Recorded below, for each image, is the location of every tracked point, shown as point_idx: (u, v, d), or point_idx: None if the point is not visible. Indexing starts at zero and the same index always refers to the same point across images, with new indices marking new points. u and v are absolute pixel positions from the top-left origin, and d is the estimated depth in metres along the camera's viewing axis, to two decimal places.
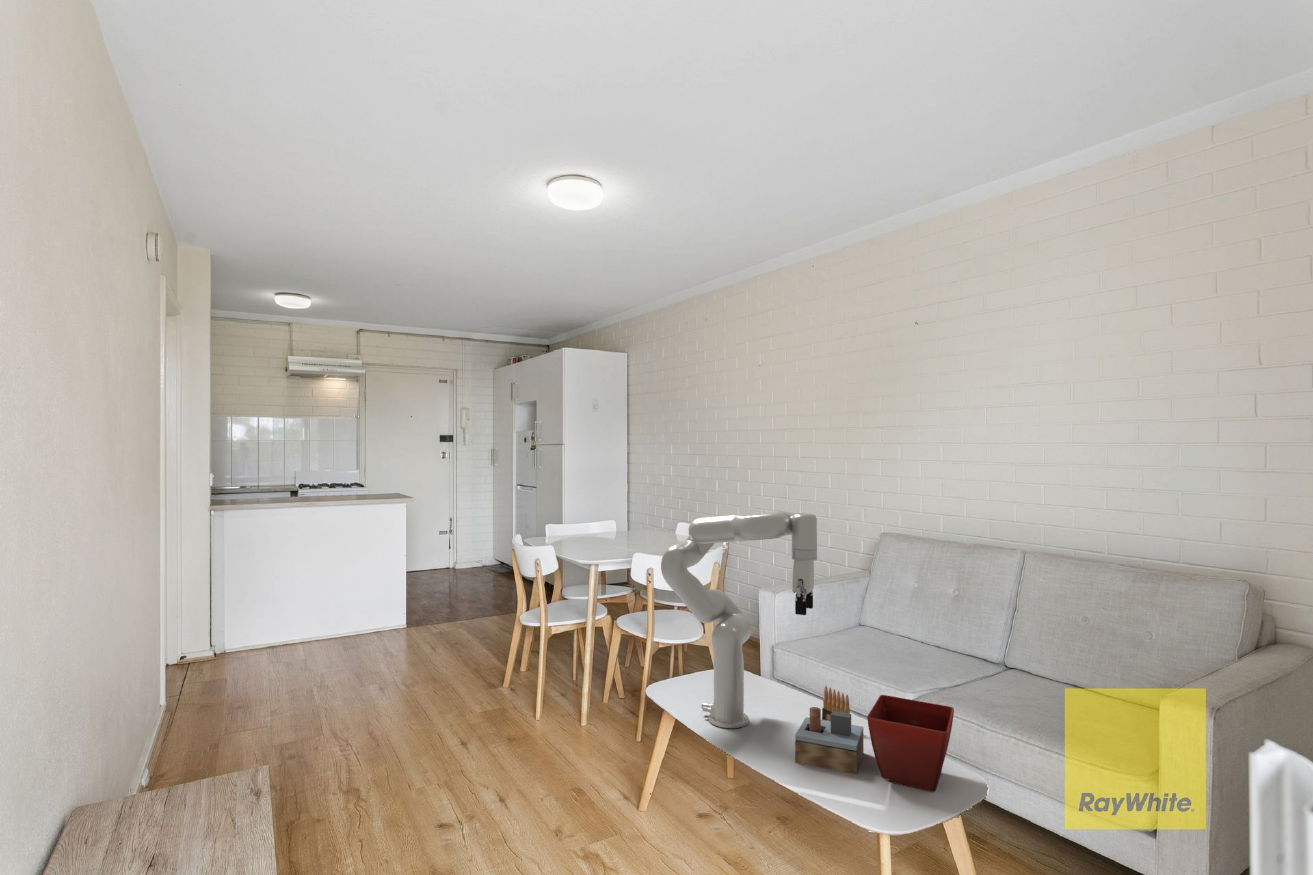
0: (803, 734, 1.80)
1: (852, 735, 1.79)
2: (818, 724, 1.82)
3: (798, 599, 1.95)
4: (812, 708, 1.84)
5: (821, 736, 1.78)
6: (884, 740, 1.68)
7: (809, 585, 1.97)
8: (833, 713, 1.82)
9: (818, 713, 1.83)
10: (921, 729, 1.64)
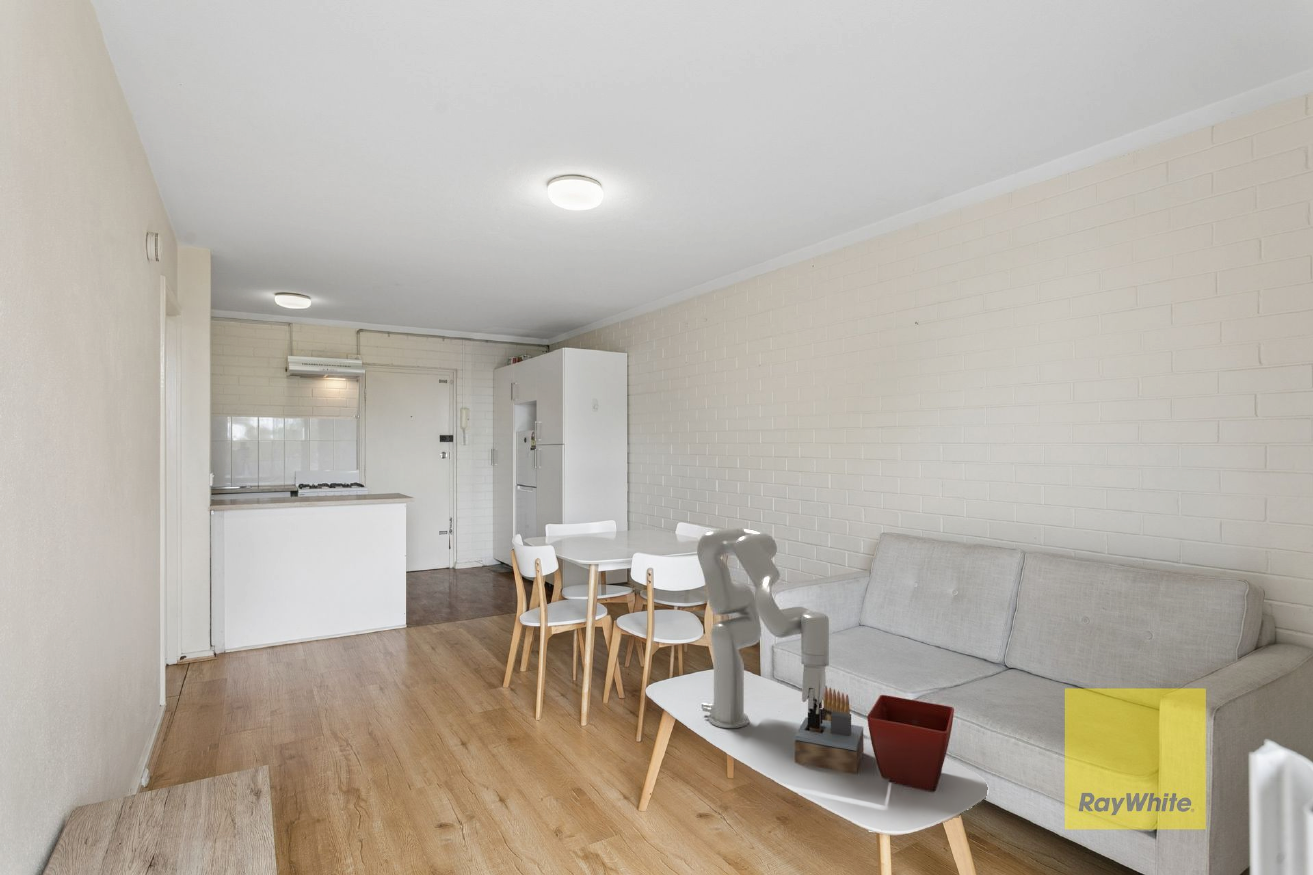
0: (803, 734, 1.80)
1: (852, 735, 1.79)
2: None
3: (811, 712, 1.81)
4: None
5: (821, 736, 1.78)
6: (884, 740, 1.68)
7: (820, 694, 1.80)
8: (833, 713, 1.82)
9: None
10: (921, 729, 1.64)
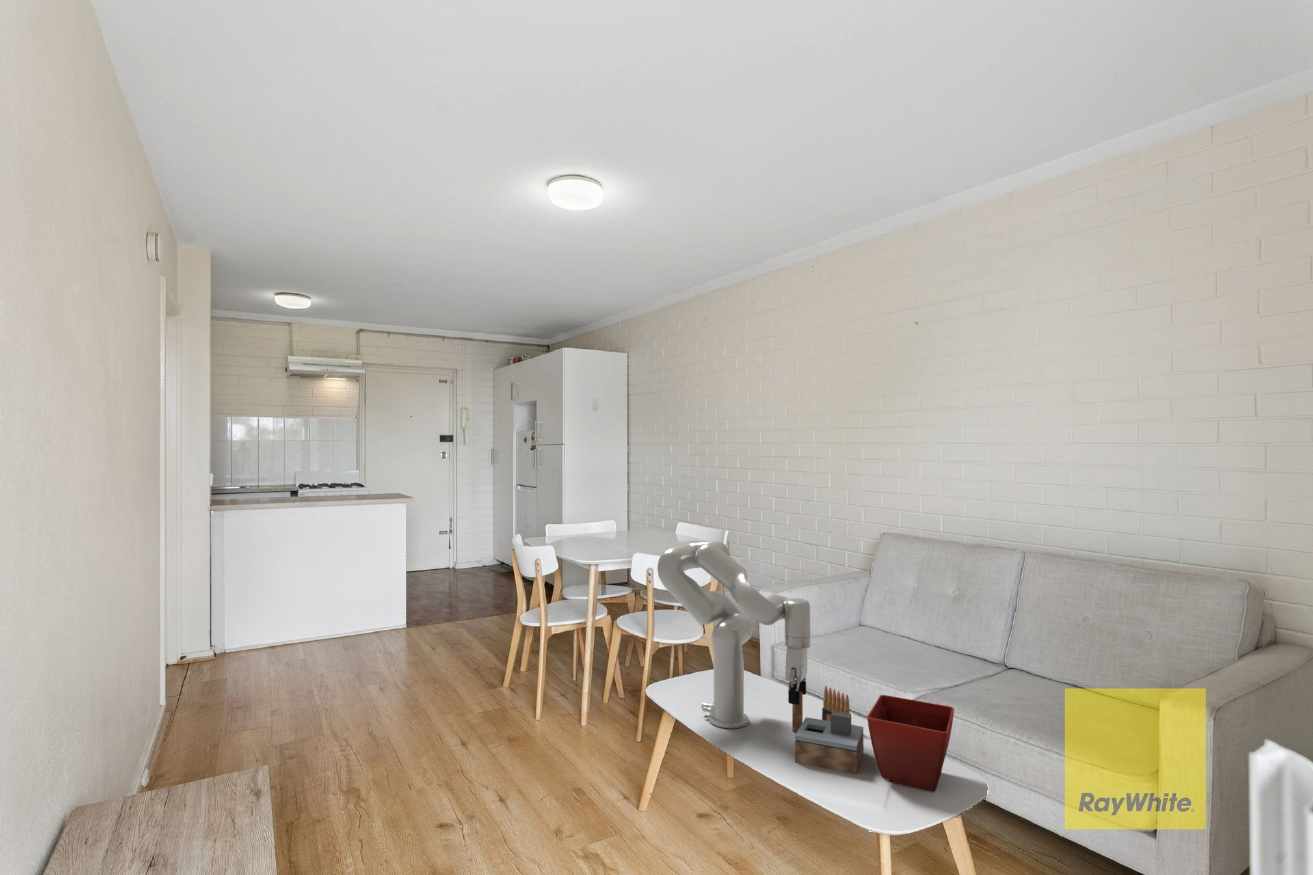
0: (803, 734, 1.80)
1: (852, 735, 1.79)
2: (800, 706, 1.99)
3: (791, 689, 1.94)
4: None
5: (821, 736, 1.78)
6: (884, 740, 1.68)
7: (802, 673, 1.96)
8: (833, 713, 1.82)
9: (800, 696, 1.99)
10: (921, 729, 1.64)
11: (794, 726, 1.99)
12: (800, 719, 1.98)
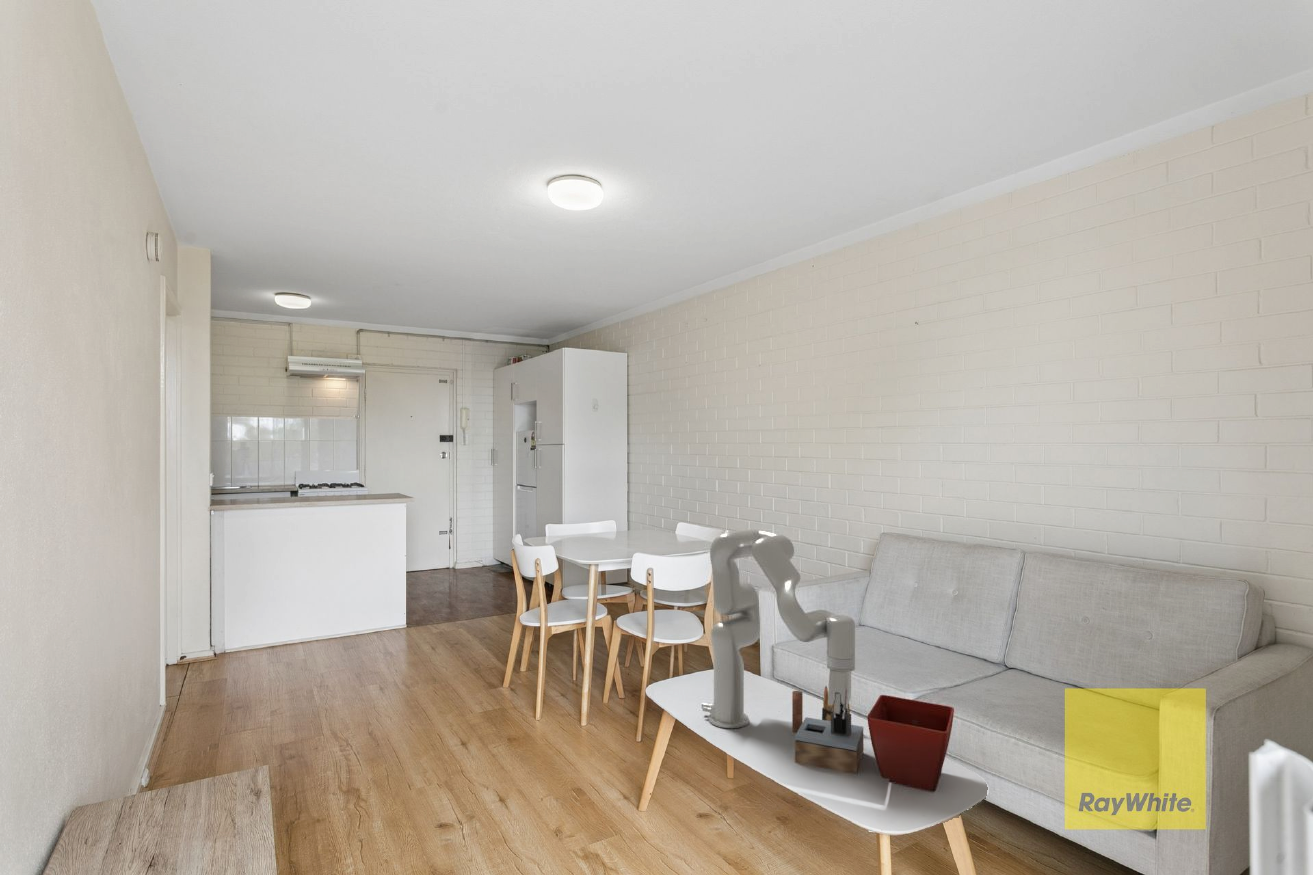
0: (803, 734, 1.80)
1: (852, 735, 1.79)
2: (800, 706, 1.99)
3: (837, 717, 1.78)
4: (795, 691, 2.00)
5: (821, 736, 1.78)
6: (884, 740, 1.68)
7: (847, 699, 1.77)
8: (833, 713, 1.82)
9: (800, 696, 1.99)
10: (921, 729, 1.64)
11: (794, 726, 1.99)
12: (800, 719, 1.98)
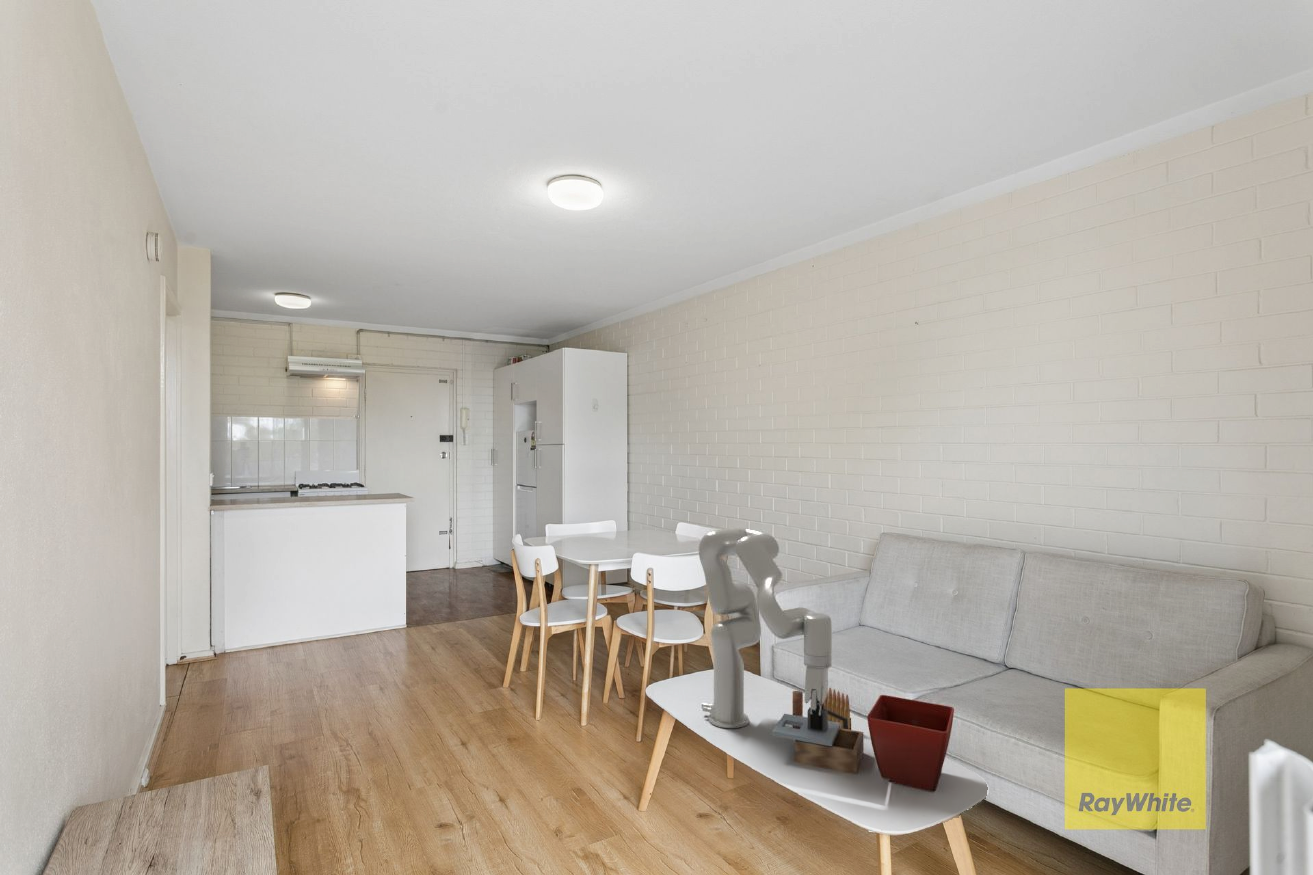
0: (780, 730, 1.82)
1: (828, 731, 1.82)
2: (800, 706, 1.98)
3: (813, 713, 1.81)
4: (795, 692, 2.00)
5: (798, 732, 1.81)
6: (884, 740, 1.68)
7: (823, 695, 1.80)
8: (810, 709, 1.84)
9: (800, 696, 1.99)
10: (921, 729, 1.64)
11: (794, 726, 1.99)
12: None
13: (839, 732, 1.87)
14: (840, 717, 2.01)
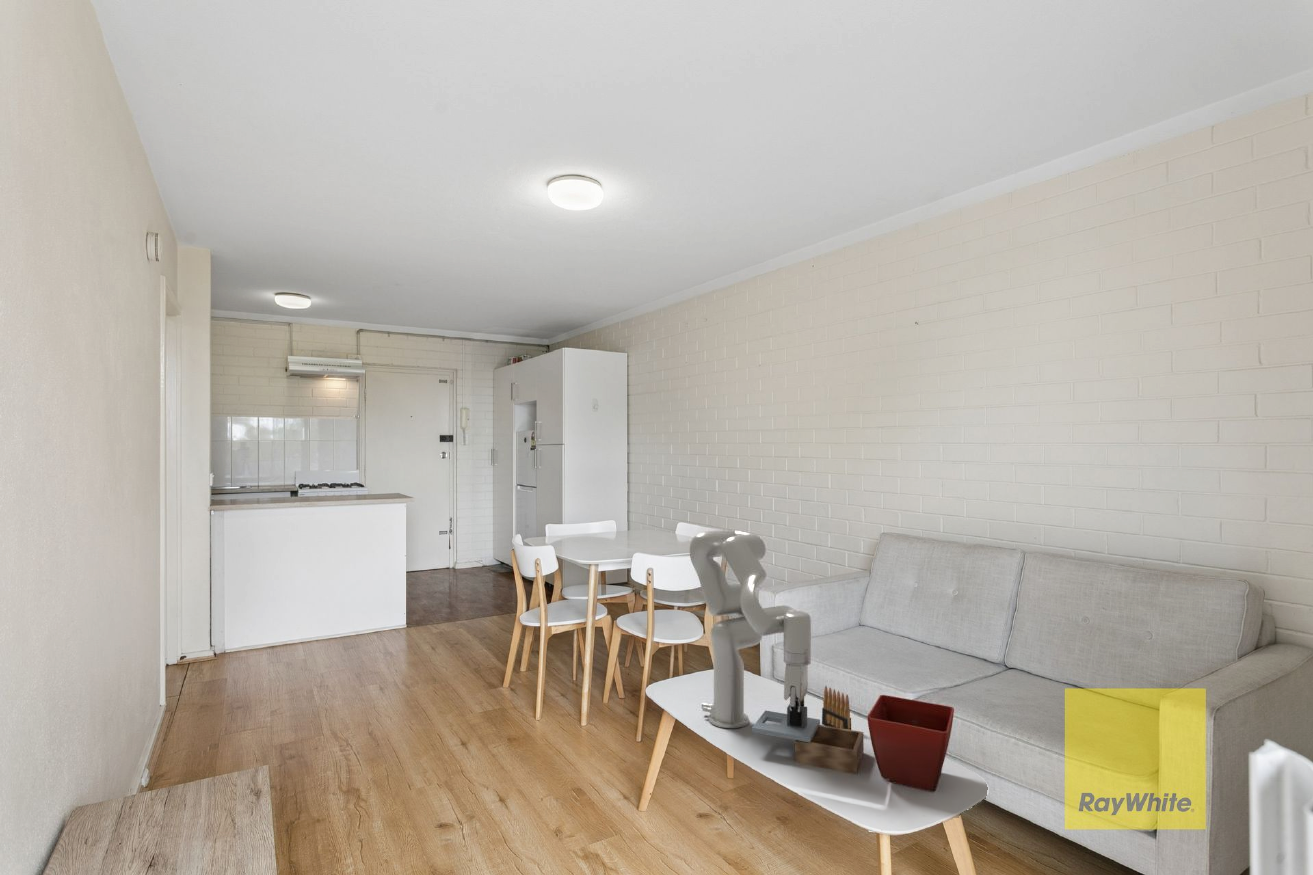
0: (760, 726, 1.85)
1: (807, 727, 1.84)
2: None
3: (793, 710, 1.83)
4: None
5: (777, 728, 1.83)
6: (884, 740, 1.68)
7: (802, 692, 1.82)
8: None
9: None
10: (921, 729, 1.64)
11: None
12: None
13: (839, 732, 1.87)
14: (840, 717, 2.01)
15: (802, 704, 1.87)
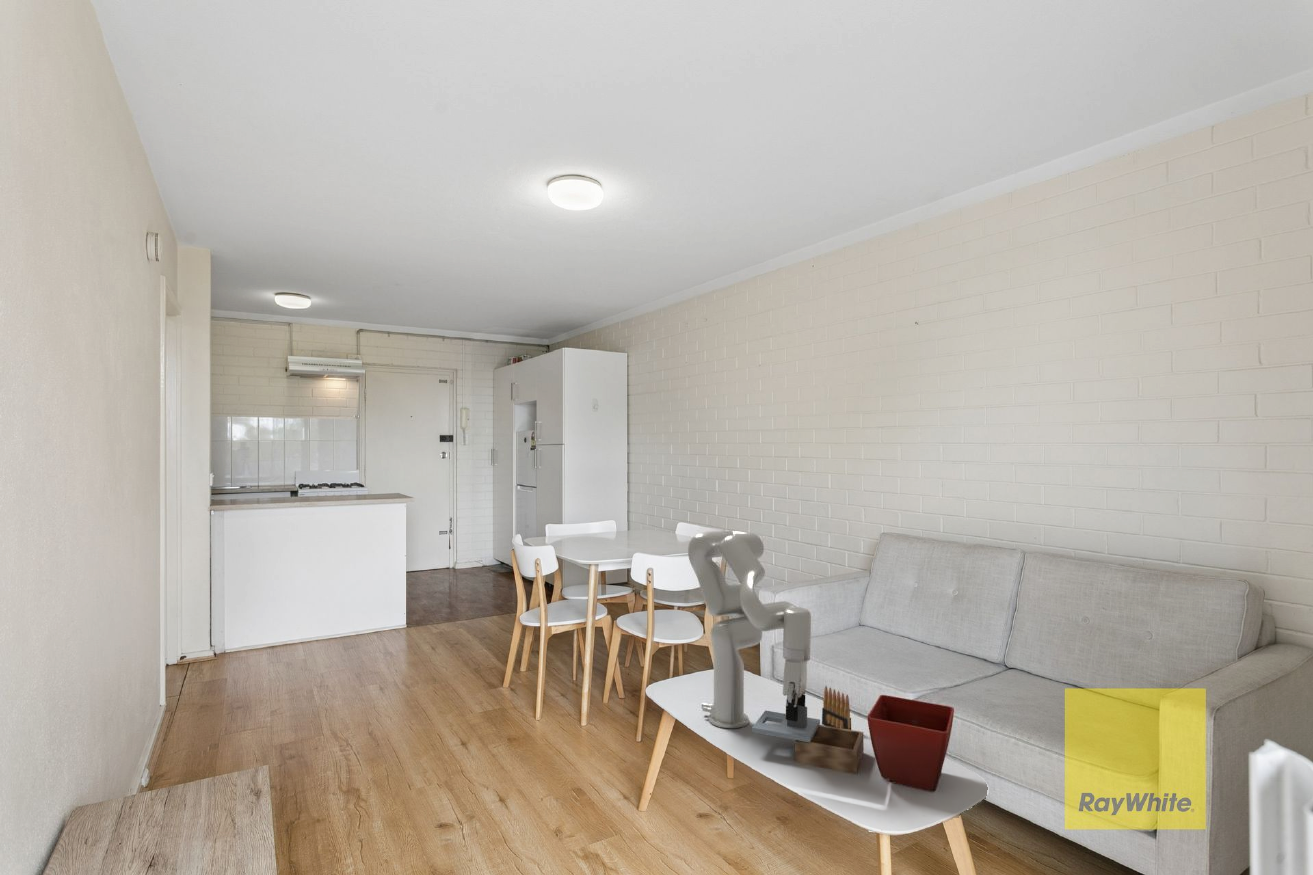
0: (760, 726, 1.85)
1: (807, 727, 1.84)
2: None
3: (789, 704, 1.81)
4: None
5: (777, 728, 1.83)
6: (884, 740, 1.68)
7: (801, 688, 1.83)
8: None
9: None
10: (921, 729, 1.64)
11: None
12: None
13: (839, 732, 1.87)
14: (840, 717, 2.01)
15: (803, 693, 1.91)
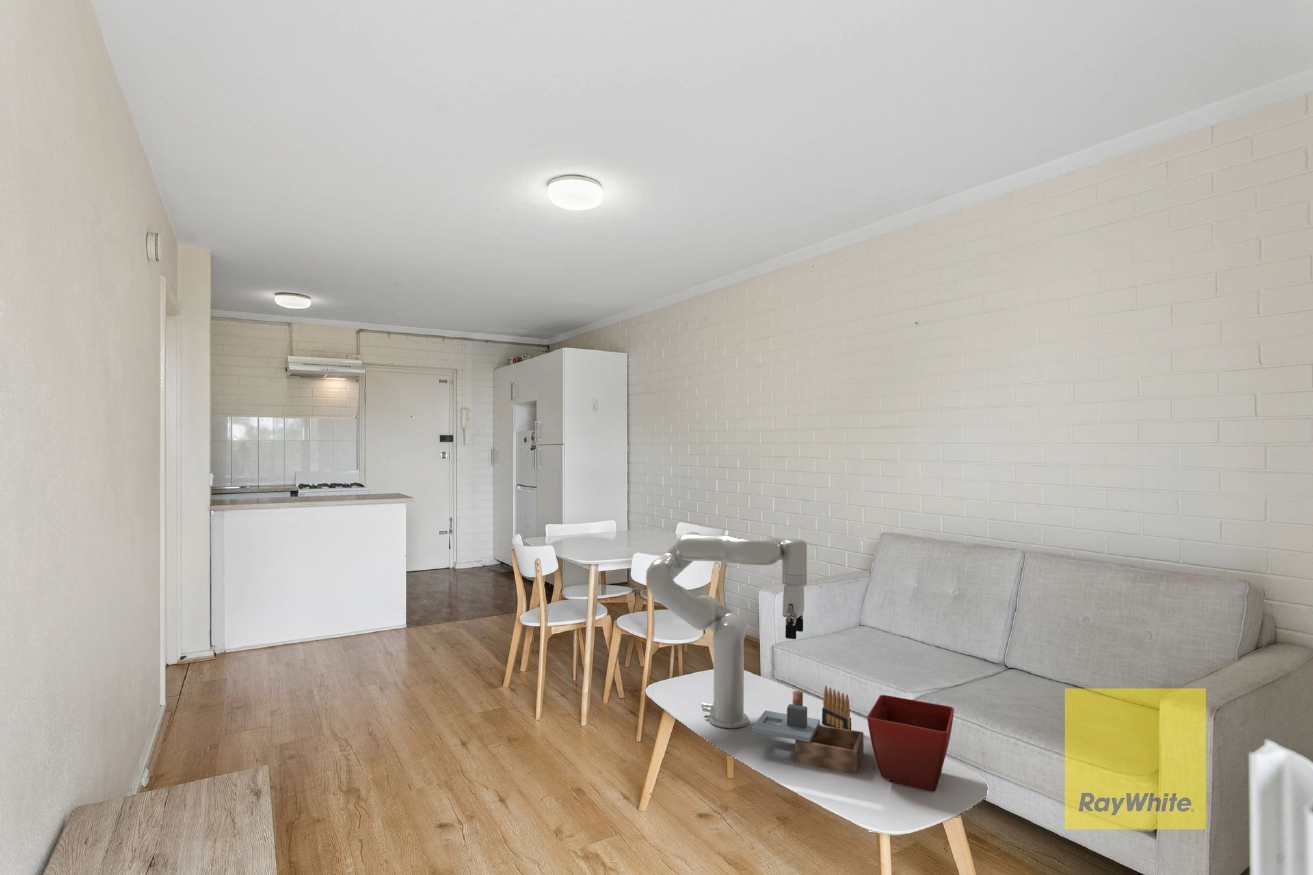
0: (760, 726, 1.85)
1: (807, 727, 1.84)
2: None
3: (788, 623, 2.00)
4: (795, 692, 2.00)
5: (777, 728, 1.83)
6: (884, 740, 1.68)
7: (799, 610, 2.02)
8: (789, 706, 1.87)
9: (800, 696, 1.98)
10: (921, 729, 1.64)
11: None
12: None
13: (839, 732, 1.87)
14: (840, 717, 2.01)
15: (801, 617, 2.10)
